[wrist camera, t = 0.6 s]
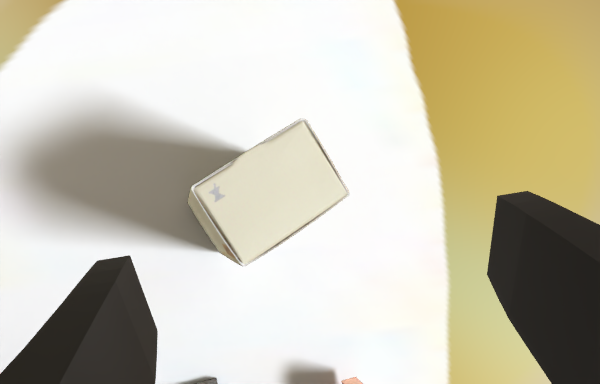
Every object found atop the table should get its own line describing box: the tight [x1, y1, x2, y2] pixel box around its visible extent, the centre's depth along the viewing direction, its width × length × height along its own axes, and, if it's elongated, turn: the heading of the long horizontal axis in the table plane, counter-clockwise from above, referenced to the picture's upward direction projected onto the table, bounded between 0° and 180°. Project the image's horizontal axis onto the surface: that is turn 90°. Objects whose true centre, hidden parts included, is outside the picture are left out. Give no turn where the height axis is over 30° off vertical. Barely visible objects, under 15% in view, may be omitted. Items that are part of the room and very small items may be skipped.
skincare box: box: [188, 119, 349, 266], centre depth 28 cm, size 6×4×12 cm
